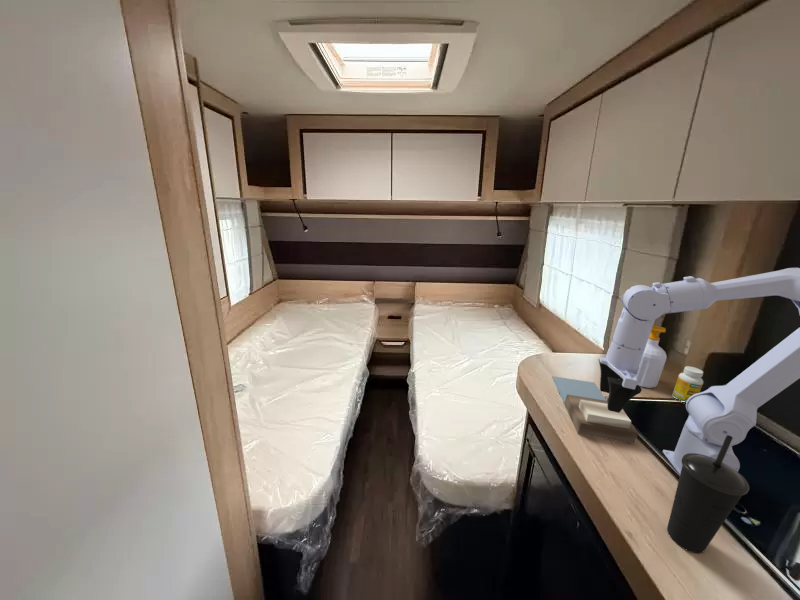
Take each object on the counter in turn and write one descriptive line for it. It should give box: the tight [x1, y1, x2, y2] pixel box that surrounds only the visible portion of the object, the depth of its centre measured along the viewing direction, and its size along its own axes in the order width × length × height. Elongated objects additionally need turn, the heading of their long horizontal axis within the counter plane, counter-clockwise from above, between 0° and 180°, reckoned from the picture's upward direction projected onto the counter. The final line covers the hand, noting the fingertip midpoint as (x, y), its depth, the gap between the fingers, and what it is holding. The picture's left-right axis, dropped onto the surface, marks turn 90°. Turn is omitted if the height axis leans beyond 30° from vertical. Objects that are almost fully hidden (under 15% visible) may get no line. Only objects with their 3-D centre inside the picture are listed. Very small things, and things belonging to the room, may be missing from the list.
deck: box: [564, 395, 639, 445], centre depth 82 cm, size 12×12×3 cm
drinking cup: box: [666, 435, 750, 554], centre depth 52 cm, size 8×8×20 cm
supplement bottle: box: [671, 365, 704, 402], centre depth 94 cm, size 5×5×10 cm
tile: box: [579, 400, 632, 429], centre depth 80 cm, size 6×9×2 cm, turn 79°
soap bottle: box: [637, 324, 667, 389], centre depth 101 cm, size 9×9×25 cm
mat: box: [551, 375, 608, 404], centre depth 95 cm, size 14×12×1 cm
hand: (609, 400), depth 73 cm, fingers open, 7 cm apart
